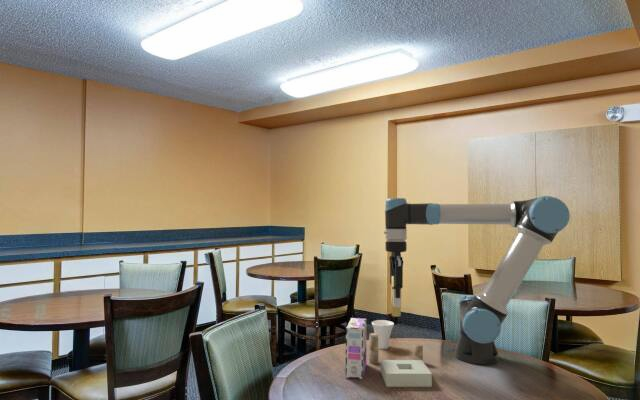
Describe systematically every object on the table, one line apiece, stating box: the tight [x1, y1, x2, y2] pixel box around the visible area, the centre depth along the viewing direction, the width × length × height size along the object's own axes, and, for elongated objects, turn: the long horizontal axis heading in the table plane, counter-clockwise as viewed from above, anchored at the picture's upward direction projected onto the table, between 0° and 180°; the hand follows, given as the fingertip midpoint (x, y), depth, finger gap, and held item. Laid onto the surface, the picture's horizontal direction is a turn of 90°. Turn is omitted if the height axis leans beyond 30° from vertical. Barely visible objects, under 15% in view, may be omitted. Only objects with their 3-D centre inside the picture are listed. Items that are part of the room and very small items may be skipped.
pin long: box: [391, 276, 402, 318], centre depth 150 cm, size 3×3×14 cm
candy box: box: [345, 317, 367, 380], centre depth 141 cm, size 14×6×16 cm, turn 168°
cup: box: [371, 319, 395, 350], centre depth 166 cm, size 9×9×10 cm
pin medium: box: [368, 332, 379, 365], centre depth 149 cm, size 3×3×10 cm
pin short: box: [413, 343, 424, 362], centre depth 150 cm, size 3×3×6 cm
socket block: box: [380, 359, 433, 388], centre depth 134 cm, size 14×12×4 cm
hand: (396, 305), depth 150 cm, fingers closed on pin long, 3 cm apart
